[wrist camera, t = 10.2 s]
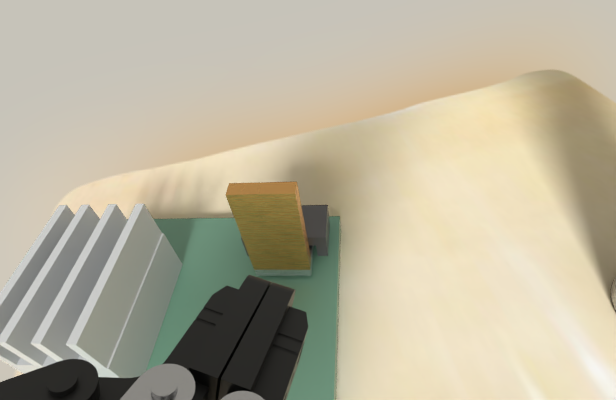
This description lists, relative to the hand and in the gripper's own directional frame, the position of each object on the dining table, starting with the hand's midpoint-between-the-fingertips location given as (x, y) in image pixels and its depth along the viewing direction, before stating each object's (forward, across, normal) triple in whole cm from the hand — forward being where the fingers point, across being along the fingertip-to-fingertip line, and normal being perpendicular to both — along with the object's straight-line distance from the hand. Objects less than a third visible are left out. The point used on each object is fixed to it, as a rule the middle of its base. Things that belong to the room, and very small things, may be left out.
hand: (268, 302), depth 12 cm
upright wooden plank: (+22, +4, +14) cm, 27 cm away
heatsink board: (+15, +8, +21) cm, 27 cm away
